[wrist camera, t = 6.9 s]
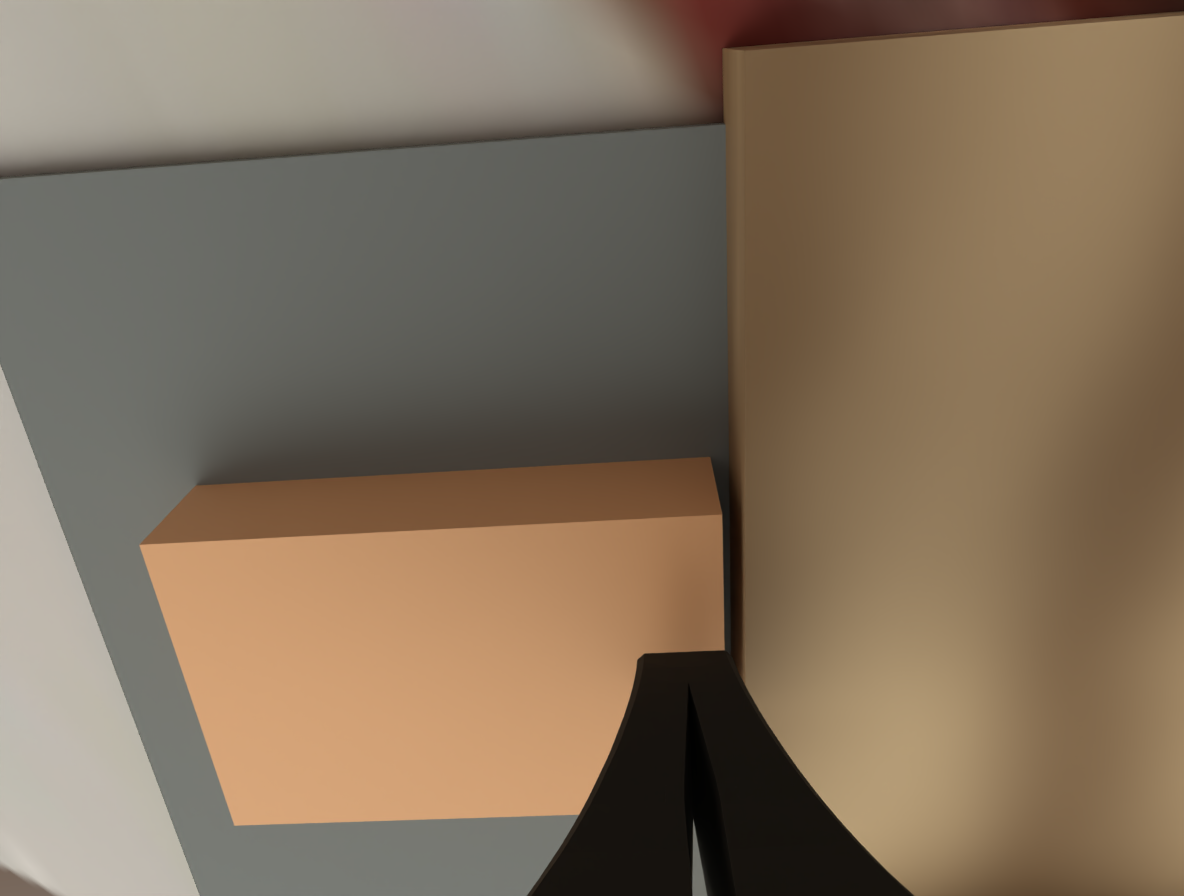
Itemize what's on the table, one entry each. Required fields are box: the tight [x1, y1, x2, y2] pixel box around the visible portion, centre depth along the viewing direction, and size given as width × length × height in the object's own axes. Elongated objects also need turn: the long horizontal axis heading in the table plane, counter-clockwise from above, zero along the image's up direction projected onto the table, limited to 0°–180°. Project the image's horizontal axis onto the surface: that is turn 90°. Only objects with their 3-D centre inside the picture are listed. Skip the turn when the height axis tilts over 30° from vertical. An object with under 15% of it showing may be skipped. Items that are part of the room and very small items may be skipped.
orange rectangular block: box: [139, 457, 725, 826], centre depth 16 cm, size 9×6×2 cm, turn 94°
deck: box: [723, 11, 1184, 896], centre depth 16 cm, size 12×22×2 cm, turn 4°
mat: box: [0, 123, 731, 896], centre depth 17 cm, size 12×17×1 cm
